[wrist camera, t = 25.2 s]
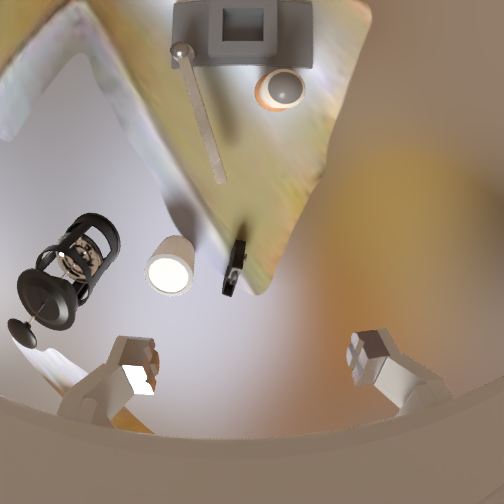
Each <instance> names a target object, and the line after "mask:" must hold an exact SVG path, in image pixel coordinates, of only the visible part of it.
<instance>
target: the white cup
mask: <svg viewBox="0 0 504 504" xmlns="http://www.w3.org/2000/svg"><path fill="white" fill-rule="evenodd" d="M194 258H195V249H194V247H193V245H192V243H191V242H190V241H189V240H187V239H186V238H184V237H182V236H170V237H167V238H166V239H165V240H164V241H163V242H162V243H161V244H160V245H159V247H158V248H157V249H156V251H155V252H154V253H153V255H152V256H151V258H150V259H149V260H148V262H147V263H146V267H145V269H144V273H145V279H146V281H147V283H148V284H149V286H150V287H151V288H152V289H153V290H155V291H156V292H157V293H159V294H162V295H165V296H178V295H182V294H184V293H185V292H186V291H188V290H189V289H190V287H191V285H192V283H193V274H194Z"/></svg>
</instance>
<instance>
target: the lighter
mask: <svg viewBox="0 0 504 504" xmlns="http://www.w3.org/2000/svg"><path fill="white" fill-rule="evenodd" d="M245 246H246V242H245V241H240V240H236V241H235V244H234V246H233V249H232V252H231V257H230V263H229V266H228V267H227V270H226V274H225V277H224V281H223V288H222V294H223V295H226V296H229V297H232V294H233V291H234V288H235V285H236V283H237V278H238V276H239V274H240V272H241V270H242V268H243V263H244V262H245V261H246V258H247V254H244V253H245Z"/></svg>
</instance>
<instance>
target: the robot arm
mask: <svg viewBox="0 0 504 504" xmlns="http://www.w3.org/2000/svg"><path fill="white" fill-rule="evenodd" d="M351 341H352V343H351V344H350V345H349V346H348V349H347V363H348V366H349V367H350V368H351V369H352V370H354V371H353V373H352V376H353V379H354V382H355V385H356V387H358V386H365V385H371V384H374V386H375V387H377V388H378V389H379V390H380V391H381V392H382V393H383V394H385V395H386V396H387V397H388V398H389V399H390V400H391V401H392V402H393V403H394V404H396V405H397V406H398V407H399V408H400V411H399V412H398V414H397V415H396V416H395V417H393V418H389V419H385V420H381V421H377V422H372V423H368V424H363V425H359V426H353V427H348V428H343V429H337V430H331V431H325V432H318V433H311V434H302V435H293V436H282V437H269V438H268V437H267V438H245V439H211V438H188V437H174V436H163V435H154V434H146V433H139V432H132V431H126V430H120V429H116V427H115V426H114V425H113V423H112V422H111V421H110V420H111V419H112V418H113V417H114V416H115V415H116V414H117V413H118V412H119V411H120V409H121V408H122V407H123V406H124V405H125V404H126V403H127V402H128V401H129V400H130V398H131V397H132V396H133V395H134V394H135V393H141V394H154V390H155V386H156V380H155V376H156V375H157V374H158V372H159V355H158V352H157V351H155V350H154V348H155V343H154V339H152V338H142V337H128V336H118V337H117V338H116V340H115V343H114V345H113V348H112V350H111V353H110V356H109V358H108V360H107V363H106V364H102V365H101V366H99V367H98V368H97V369H95V370H94V371H93V372H91V373H90V374H89V375H87V376H86V377H85V378H83V379H82V380H81V381H79V382H78V383H77V384H75V385H74V386H73V387H71V388H70V389H69V390H68V391H66V392H65V394H64V397H63V400H62V402H61V404H60V407H59V410H58V412H57V415H56V414H52V413H49V412H45V411H43V410H40V409H37V408H33V407H31V406H28V405H25V404H22V403H20V402H17V401H15V400H12V399H10V398H7V397H5V396H2V395H0V504H504V376H501V377H499V378H497V379H495V380H493V381H491V382H489V383H487V384H485V385H483V386H480V387H478V388H476V389H474V390H471V391H469V392H467V393H464V394H462V395H459V396H457V397H454V398H453V396H452V394H451V392H450V390H449V388H448V387H447V385H446V383H445V381H444V379H443V378H442V377H440V376H439V375H437V374H436V373H434V372H432V371H431V370H429V369H428V368H426V367H425V366H423V365H421V364H420V363H418V362H417V361H415V360H413V359H412V358H410V357H409V356H407V355H405V354H401V353H400V351H399V349H398V347H397V346H396V344H395V342H394V340H393V339H392V337H391V335H390V333H389V331H388V330H387V329H386V328H383V329H376V330H368V331H361V332H354V333H353V334H352V337H351Z"/></svg>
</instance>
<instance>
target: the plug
mask: <svg viewBox="0 0 504 504" xmlns="http://www.w3.org/2000/svg"><path fill="white" fill-rule="evenodd" d="M304 95H305V83H304V81H303V79H302V78H301V76H300V75H299V74H297V73H296V72H294V71H292V70H289V69H278V70H275V71H273V72H272V73H270V74H268V75H265V76H264V77H262V78H261V79H260V80H259V81H258V83H257V84H256V87H255V98H256V100H257V102H258V103H259V105H260V106H261V107H263V108H264V109H266V110H269V111H282V110H285V109H287V108H290V107H293V106H296V105H297V104H299V103H300V102H301V101H302V99H303V97H304Z"/></svg>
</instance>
